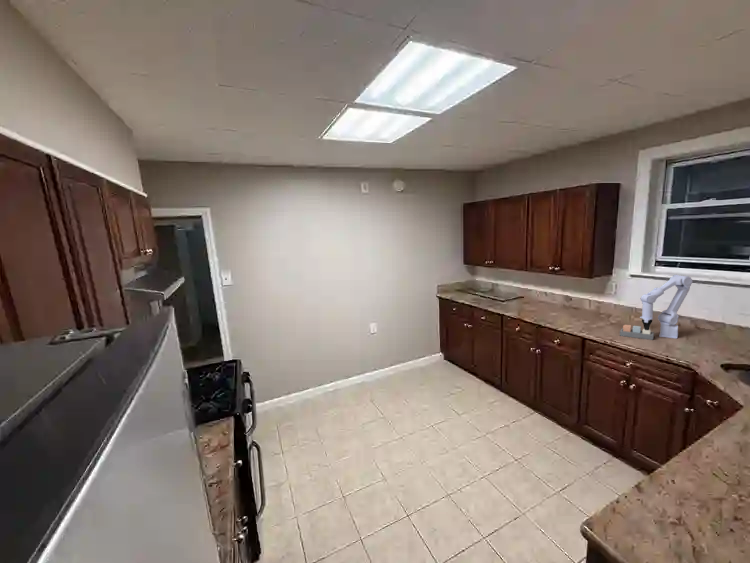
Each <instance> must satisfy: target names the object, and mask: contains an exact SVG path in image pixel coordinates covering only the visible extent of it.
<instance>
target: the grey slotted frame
mask: <svg viewBox="0 0 750 563" xmlns="http://www.w3.org/2000/svg"><path fill="white" fill-rule="evenodd" d="M642 332H643V329H641V332H640V333H636V332H633V328H631V332H627V331H623V327H622V328H621V329H620V330H619V337H625V338H634V339H640V340H650V341H653V340H654V337H655V331H651V334H643V333H642Z"/></svg>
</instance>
